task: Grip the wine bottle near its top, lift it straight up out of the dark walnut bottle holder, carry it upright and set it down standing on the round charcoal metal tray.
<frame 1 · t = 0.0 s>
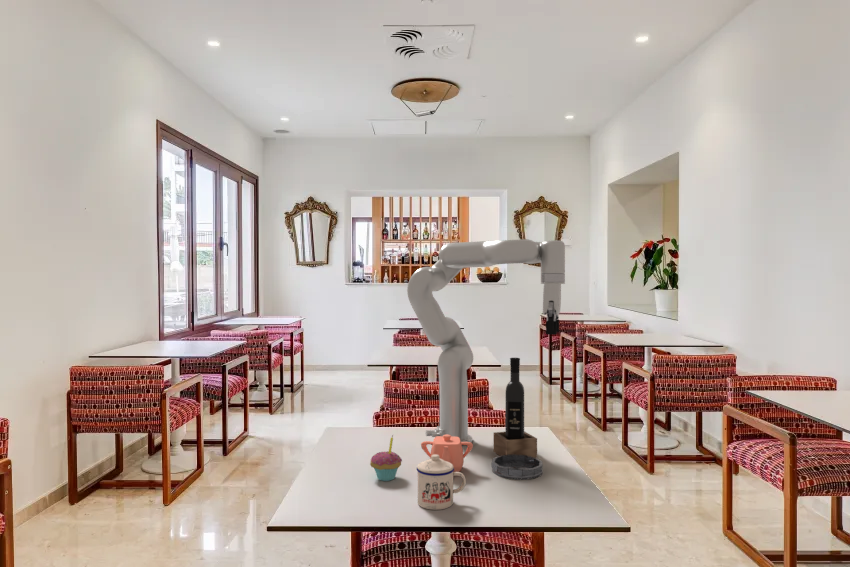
hand: (552, 332, 183), 37 cm above the table, tool pointing down, fingers open, 9 cm apart
teapot: (446, 471, 163), on the table
teacup with lid: (441, 503, 139), on the table
serving tray: (517, 470, 163), on the table
wine bottle: (514, 455, 178), resting in bottle holder
bottle holder: (514, 454, 178), on the table
cupcake: (385, 478, 157), on the table
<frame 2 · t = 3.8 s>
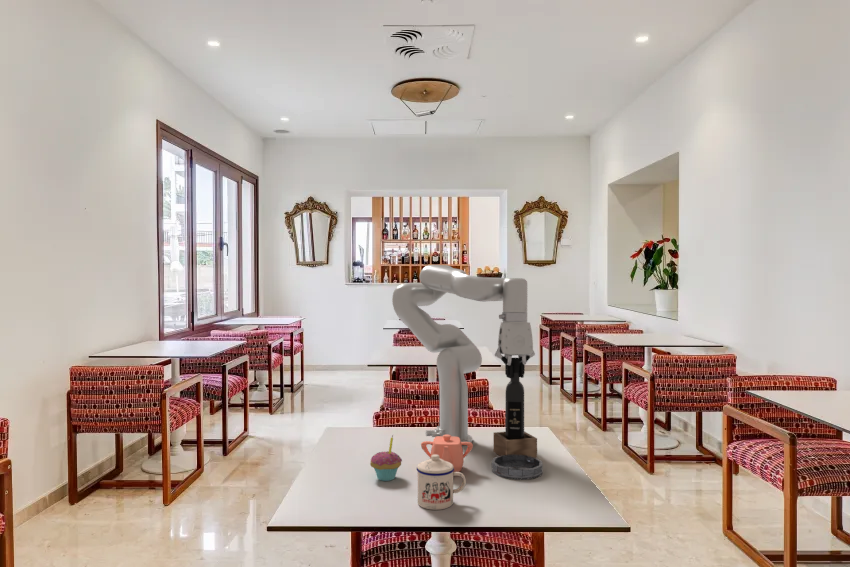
hand: (514, 376, 178), 24 cm above the table, tool pointing down, fingers closed on wine bottle, 3 cm apart
wine bottle: (514, 455, 178), resting in bottle holder, touching gripper
everything else where it was.
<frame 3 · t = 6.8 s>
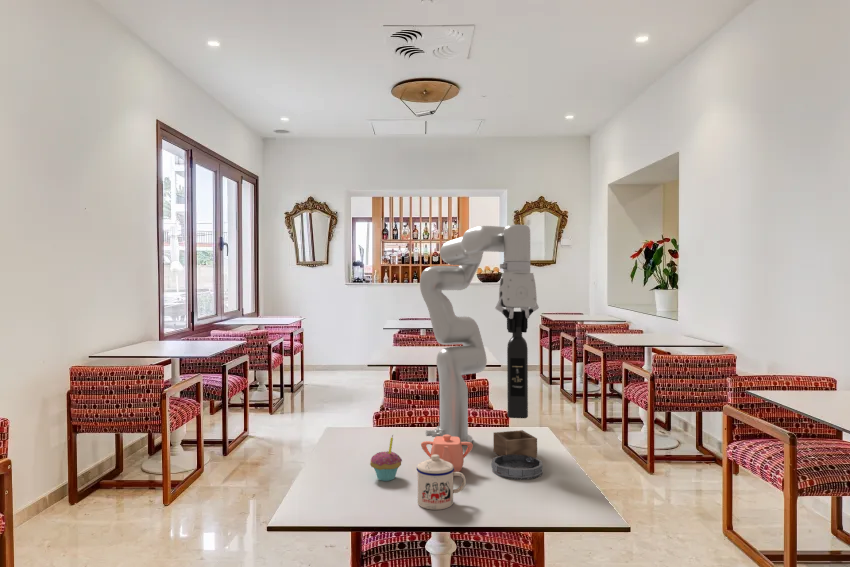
hand: (517, 331, 164), 39 cm above the table, tool pointing down, fingers closed on wine bottle, 3 cm apart
wine bottle: (517, 417, 164), point 15 cm above the table, touching gripper
everything else where it was.
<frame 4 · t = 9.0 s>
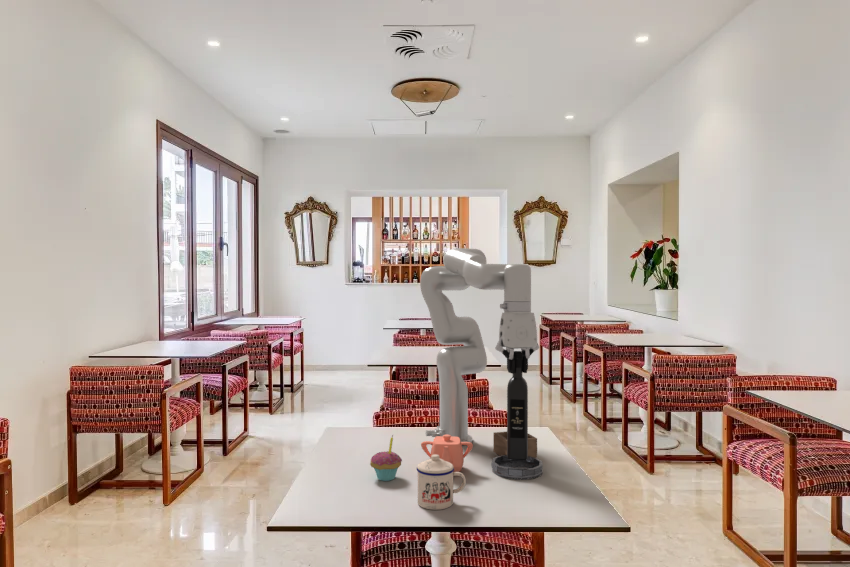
hand: (517, 372, 162), 28 cm above the table, tool pointing down, fingers closed on wine bottle, 3 cm apart
wine bottle: (517, 458, 162), point 4 cm above the table, touching gripper
everything else where it was.
when the fingers open (26 cm above the table, at t = 10.2 s): wine bottle stays where it is, resting on serving tray.
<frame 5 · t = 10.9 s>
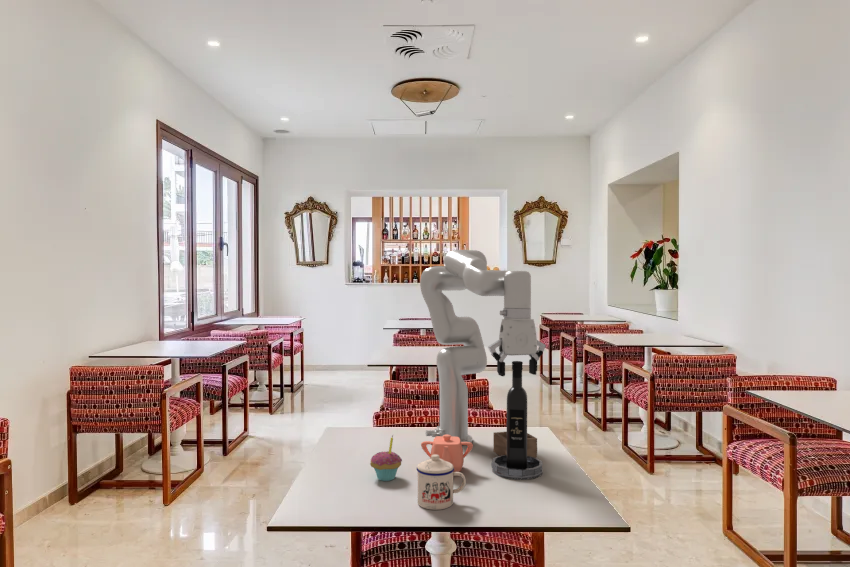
hand: (517, 374, 162), 27 cm above the table, tool pointing down, fingers open, 9 cm apart
wine bottle: (516, 467, 163), point 1 cm above the table, touching serving tray
everything else where it was.
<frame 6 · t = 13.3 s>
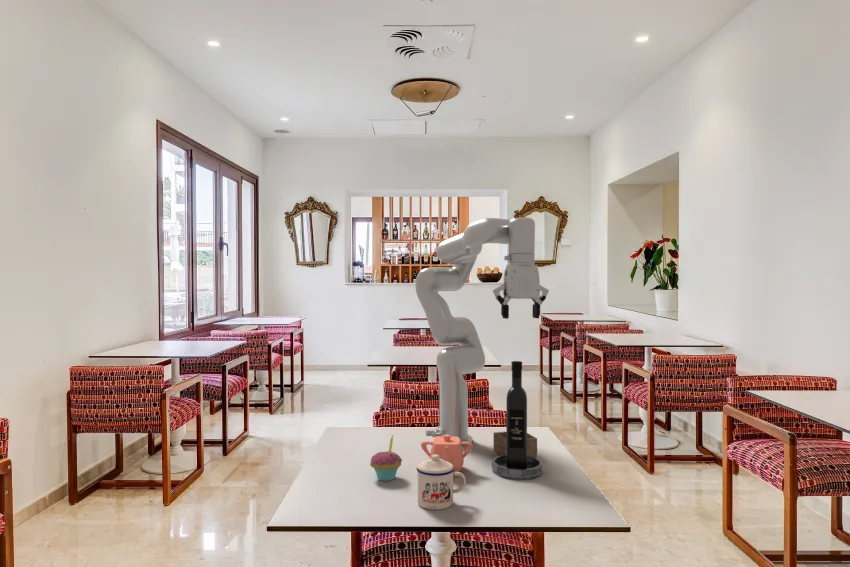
hand: (520, 318, 169), 43 cm above the table, tool pointing down, fingers open, 9 cm apart
nothing on the table moved.
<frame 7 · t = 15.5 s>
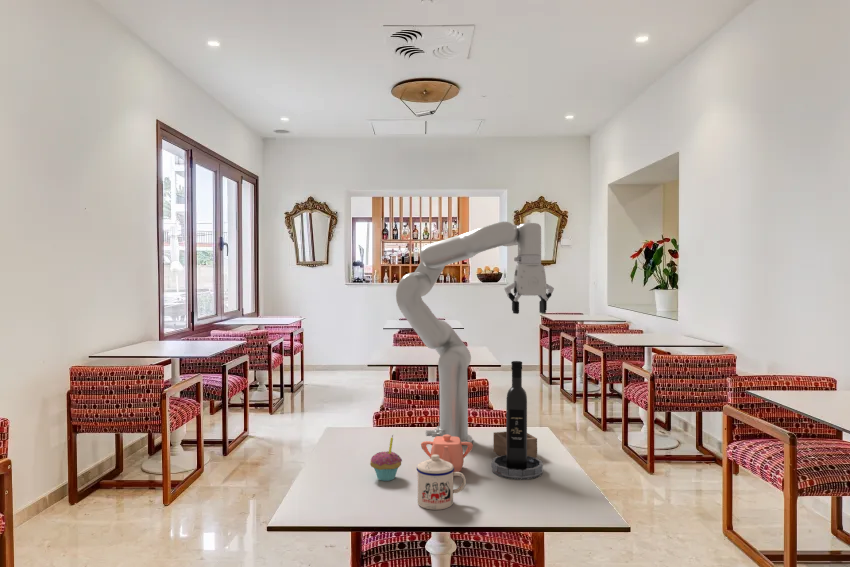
hand: (529, 313, 188), 43 cm above the table, tool pointing down, fingers open, 9 cm apart
nothing on the table moved.
at the end: wine bottle inside the target area on the serving tray (0.2 cm from its centre), point 0.8 cm above the serving tray's base; wine bottle tilted 0°; the gripper is holding nothing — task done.
